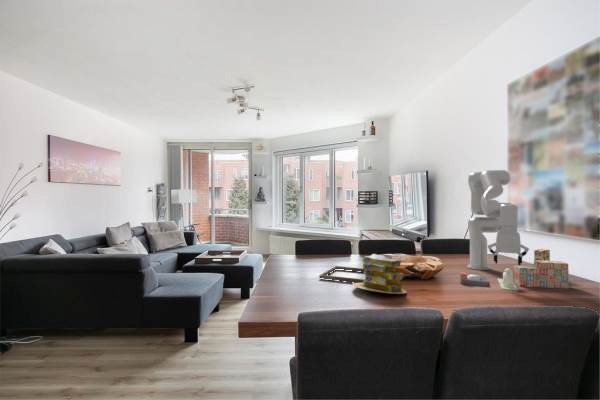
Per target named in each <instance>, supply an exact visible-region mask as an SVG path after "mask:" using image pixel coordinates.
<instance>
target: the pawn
mask: <svg viewBox="0 0 600 400" xmlns="http://www.w3.org/2000/svg"><path fill="white" fill-rule="evenodd" d="M502 279H503V284H502V286H503V287H507V288H514V285H515V283H514V272H513V271H512V269H511V268H509V267H508V268H505V269H504V272H502Z"/></svg>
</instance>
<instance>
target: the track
mask: <svg viewBox="0 0 600 400" xmlns="http://www.w3.org/2000/svg"><path fill="white" fill-rule="evenodd" d="M497 281H498V283H499V287H500V288H501V290H506V291H507V290H508V291H515V292H516V291H517V292H518V291H519V289H518V288H517V286H516V284H514V288H507V287H503V286H502V284H503V278H497Z"/></svg>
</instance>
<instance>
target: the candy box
mask: <svg viewBox="0 0 600 400" xmlns="http://www.w3.org/2000/svg"><path fill="white" fill-rule="evenodd" d="M533 253H534V258H533V261H534V260H540V261H551V250H550V249H548V248H540V249H534V250H533Z"/></svg>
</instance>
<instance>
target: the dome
mask: <svg viewBox="0 0 600 400" xmlns="http://www.w3.org/2000/svg"><path fill="white" fill-rule="evenodd" d="M467 275H468V276H467V279H472V280H481V277H479V276H480V275H477V274H467Z"/></svg>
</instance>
